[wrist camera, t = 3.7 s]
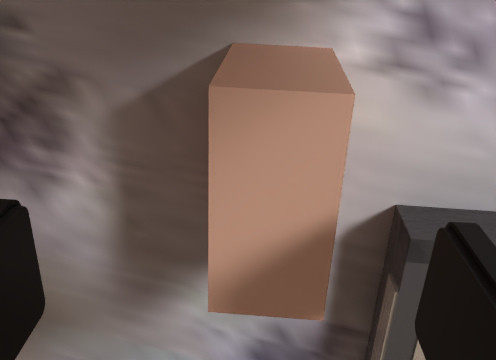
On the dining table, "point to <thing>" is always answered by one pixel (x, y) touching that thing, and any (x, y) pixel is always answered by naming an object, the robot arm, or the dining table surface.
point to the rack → (411, 276)
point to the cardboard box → (275, 178)
